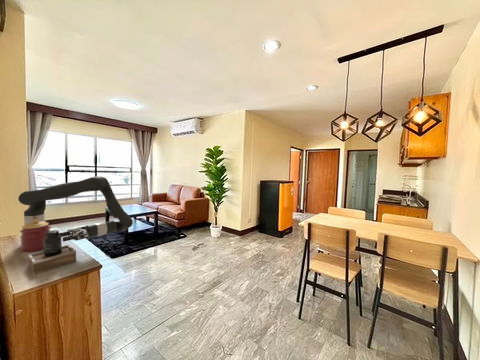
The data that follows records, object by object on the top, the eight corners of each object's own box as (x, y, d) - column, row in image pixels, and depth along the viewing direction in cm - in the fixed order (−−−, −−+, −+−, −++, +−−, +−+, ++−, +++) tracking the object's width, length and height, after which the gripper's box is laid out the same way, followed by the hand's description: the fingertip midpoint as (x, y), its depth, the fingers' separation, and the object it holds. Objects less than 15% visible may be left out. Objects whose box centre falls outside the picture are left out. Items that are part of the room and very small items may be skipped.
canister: (43, 251, 117) (42, 222, 116) (14, 253, 113) (13, 223, 112) (56, 242, 129) (55, 216, 128) (30, 244, 125) (29, 216, 124)
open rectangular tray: (28, 265, 101) (28, 254, 101) (69, 254, 114) (68, 244, 114) (33, 274, 94) (33, 262, 94) (76, 261, 107) (75, 250, 107)
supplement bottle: (65, 252, 106) (64, 230, 105) (49, 258, 100) (48, 234, 99) (56, 250, 109) (55, 228, 108) (40, 255, 102) (39, 232, 101)
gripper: (91, 221, 123) (56, 227, 110) (101, 226, 114) (64, 233, 101) (91, 233, 123) (56, 241, 110) (101, 239, 115) (64, 248, 102)
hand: (60, 237), depth 106 cm, fingers open, 8 cm apart
